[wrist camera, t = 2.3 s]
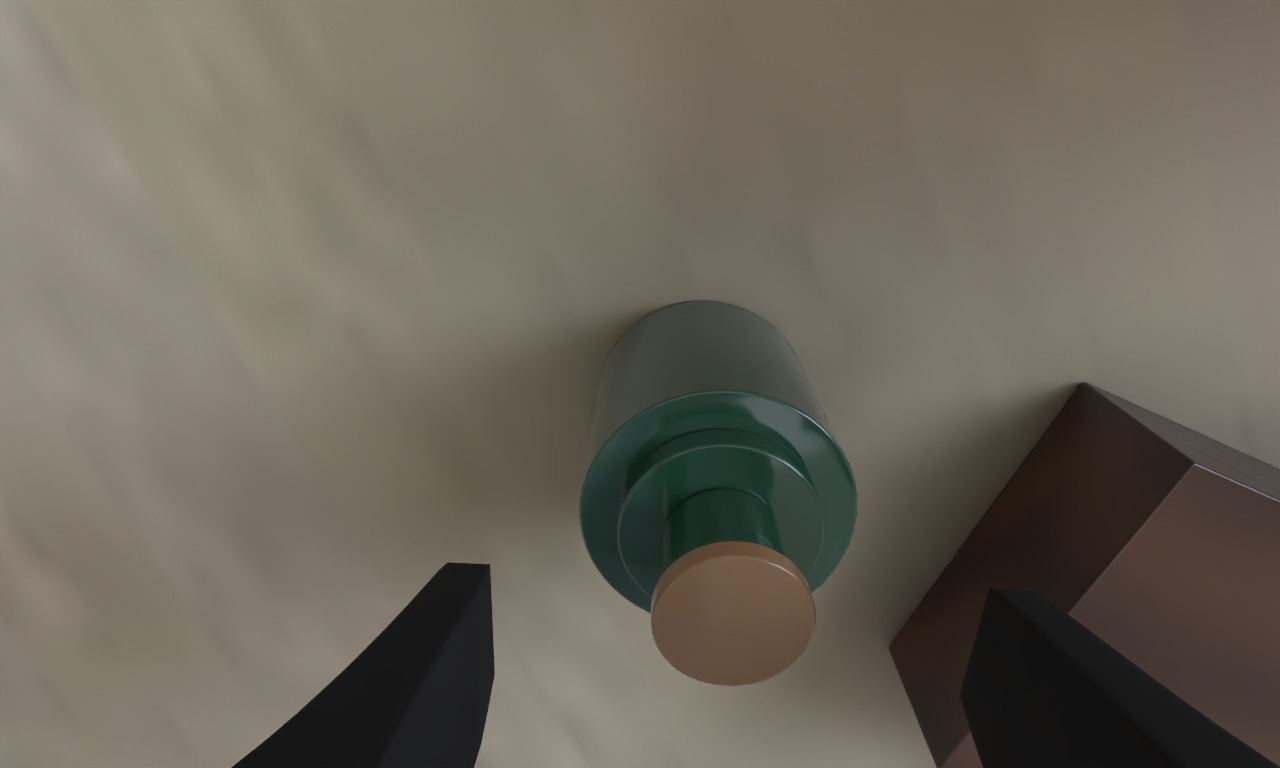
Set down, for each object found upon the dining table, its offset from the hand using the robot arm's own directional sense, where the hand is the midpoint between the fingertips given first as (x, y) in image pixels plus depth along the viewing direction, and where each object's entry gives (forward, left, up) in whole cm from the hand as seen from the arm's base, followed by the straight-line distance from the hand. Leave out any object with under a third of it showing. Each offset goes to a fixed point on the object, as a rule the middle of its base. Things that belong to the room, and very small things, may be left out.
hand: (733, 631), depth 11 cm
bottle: (0, 0, -8) cm, 8 cm away
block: (+4, -12, -8) cm, 15 cm away
